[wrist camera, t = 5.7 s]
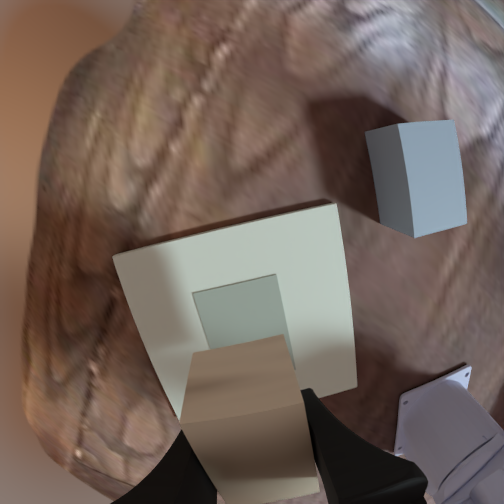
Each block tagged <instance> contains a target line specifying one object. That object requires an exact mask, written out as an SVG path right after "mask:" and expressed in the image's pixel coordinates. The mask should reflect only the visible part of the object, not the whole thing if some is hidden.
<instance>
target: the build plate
mask: <svg viewBox="0 0 504 504" xmlns="http://www.w3.org/2000/svg"><path fill="white" fill-rule="evenodd" d="M112 258H113V261H114V264H115V267H116V270H117V273H118V276H119V279H120V282H121V285H122V288H123V291H124V294H125V297H126V299H127V302H128V305H129V308H130V310H131V313H132V316H133V318H134V321H135V323H136V326H137V328H138V331H139V333H140V336H141V338H142V341H143V343H144V346H145V348H146V350H147V353H148V355H149V357H150V360H151V362H152V364H153V367H154V369H155V371H156V373H157V376H158V378H159V380H160V382H161V384H162V386H163V389H164V391H165V393H166V395H167V397H168V399H169V401H170V403H171V405H172V407H173V409H174V411H175V413H176V415H177V417H178V419H179V421H180V416H181V411H182V405H183V400H184V395H185V390H186V384H187V379H188V374H189V369H190V364H191V359H192V354H193V353H194V352H200V351H205V350H210V349H216V348H221V347H226V346H231V345H236V344H240V343H245V342H250V341H254V340H259V339H263V338H268V337H272V336H276V335H281V334H284V338H285V341H286V344H287V347H288V351H289V354H290V357H291V361H292V364H293V367H294V371H295V374H296V377H297V381H298V384H299V387H300V390H303V389H307V388H311V389H313V391H314V393H315V394H316V396H317V397H318V398H321V397H325V396H329V395H332V394H336V393H339V392H342V391H346V390H349V389H352V388H355V387H357V371H356V356H355V343H354V332H353V321H352V311H351V302H350V293H349V285H348V277H347V269H346V261H345V254H344V247H343V241H342V234H341V228H340V222H339V216H338V210H337V204H336V203H329V204H324V205H319V206H315V207H310V208H306V209H301V210H296V211H292V212H287V213H283V214H278V215H274V216H270V217H265V218H261V219H256V220H252V221H248V222H243V223H239V224H235V225H231V226H226V227H222V228H218V229H214V230H210V231H205V232H201V233H197V234H193V235H189V236H185V237H181V238H177V239H173V240H169V241H165V242H161V243H157V244H153V245H149V246H145V247H142V248H138V249H134V250H130V251H126V252H122V253H119V254H115V255H114V256H112Z"/></svg>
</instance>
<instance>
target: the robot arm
mask: <svg viewBox="0 0 504 504" xmlns="http://www.w3.org/2000/svg"><path fill="white" fill-rule="evenodd" d="M470 373H471V366H470V365H465V366H463V367H461V368H459V369H457V370H455V371H453V372H451V373H449V374H447V375H445V376H442V377H440V378H438V379H436V380H434V381H431V382H429V383H427V384H425V385H422V386H420V387H417V388H415V389H413V390H410V391H408V392H405V393H403V394H402V395H401V396H400V399H399V411H398V422H397V431H396V440H395V447H394V455H392V454H390V453H388V452H385V451H383V450H381V449H380V448H378V447H376V446H374V445H372V444H370V443H368V442H367V441H365V440H364V439H362V438H361V437H359V436H358V435H356V434H355V433H354V432H352V431H351V430H350V429H348V428H347V427H346V426H345V425H344V424H342V423H341V422H340V421H339V420H338V419H337V418H336V417H335V416H334V415H333V414H332V413H331V412H330V411H329V410H328V409H327V408H326V407H325V406H324V404H323V403H322V402H321V401H320V400H319V398H318V397H317V396H316V394H315V393H314V391H313V389H311V388H307V389H303V390H300V391H301V394H302V397H303V401H304V406H305V411H306V416H307V422H308V427H309V433H310V438H311V444H312V450H313V455H314V460H315V463H316V465H317V468H318V470H319V473H320V475H321V478H322V481H323V484H324V488H325V492H326V496H327V499H328V503H329V504H427V502H426V500H425V498H424V494H425V492H426V493H427V494H429V495H430V496H432V497H433V499H434V501H435V503H436V504H504V430H503V429H502V428H501V427H500V426H499V425H498V423H497V422H496V421H495V420H494V419H493V418H492V417H491V416H490V415H489V413H488V412H487V411H486V410H485V409H484V408H483V407H482V406H481V405H480V404H479V402H478V401H477V400H476V399H475V398H474V397H473V396H472V395H471V394H470V393H469V392H468V391H467V387H468V382H469V378H470ZM401 454H404V455H405V457H406V458H407V460H406V459H403V458H400V457H397V456H399V455H401ZM111 504H217V489H216V487H215V486H214V484H213V482H212V481H211V479H210V478H209V476H208V474H207V473H206V471H205V469H204V468H203V466H202V464H201V463H200V461H199V459H198V458H197V456H196V454H195V452H194V451H193V449H192V447H191V445H190V443H189V442H188V440H187V438H186V436H185V434H184V432H183V431H182V429H181V431H180V433H179V434H178V436H177V438H176V439H175V441H174V443H173V444H172V446H171V447H170V449H169V450H168V451H167V453H166V454H165V456H164V457H163V458H162V460H161V461H160V462H159V463H158V464H157V466H156V467H155V468H154V469H153V470H152V471H151V472H150V473H149V474H148V475H147V476H146V477H145V478H144V479H143V480H142V481H141V482H140V483H139V484H138V485H137V486H135V487H134V488H133V489H132V490H130V491H129V492H128V493H126V494H125V495H123V496H122V497H120V498H119V499H117V500H116V501H114V502H112V503H111Z"/></svg>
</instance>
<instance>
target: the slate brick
mask: <svg viewBox="0 0 504 504" xmlns="http://www.w3.org/2000/svg"><path fill="white" fill-rule="evenodd" d="M365 137H366V142H367V147H368V152H369V157H370V162H371V167H372V173H373V178H374V184H375V191H376V197H377V203H378V210H379V218H380V224H382V225H384V226H387V227H389V228H392V229H394V230H397V231H399V232H401V233H404V234H406V235H409V236H411V237H413V238H416V237H420V236H424V235H427V234H431V233H435V232H438V231H442V230H446V229H449V228H453V227H457V226H460V225H464V224H467V213H466V200H465V189H464V180H463V171H462V164H461V157H460V150H459V144H458V139H457V133H456V128H455V123H454V120H441V121H425V122H412V123H400V124H394V125H390V126H386V127H382V128H378V129H374V130H370V131H366V132H365Z"/></svg>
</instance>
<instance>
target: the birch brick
mask: <svg viewBox="0 0 504 504" xmlns="http://www.w3.org/2000/svg"><path fill="white" fill-rule="evenodd" d="M179 425H180V427H181V429H182V431H183V432H184V434H185V436H186V438H187V440H188V442H189V443H190V445H191V447H192V449H193V451H194V452H195V454H196V456H197V458H198V459H199V461H200V463H201V464H202V466H203V468H204V469H205V471H206V473H207V474H208V476H209V478H210V479H211V481H212V482H213V484H214V486H215V487H216V489H217V490H218V492H219V493H220V495H221V497H222V498H223V500H224V501H225V503H226V504H262V503H268V502H274V501H280V500H285V499H290V498H295V497H300V496H305V495H309V494H313V493H317V492H320V490H319V485H318V479H317V473H316V467H315V461H314V455H313V450H312V444H311V438H310V433H309V427H308V422H307V416H306V411H305V406H304V401H303V397H302V394H301V391H300V387H299V384H298V381H297V377H296V374H295V371H294V367H293V364H292V361H291V357H290V354H289V351H288V347H287V344H286V341H285V338H284V334H281V335H276V336H272V337H268V338H263V339H259V340H254V341H250V342H245V343H240V344H236V345H231V346H226V347H221V348H216V349H210V350H205V351H200V352H194V353H193V354H192V359H191V364H190V369H189V374H188V379H187V384H186V390H185V395H184V400H183V405H182V411H181V416H180V422H179Z"/></svg>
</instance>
